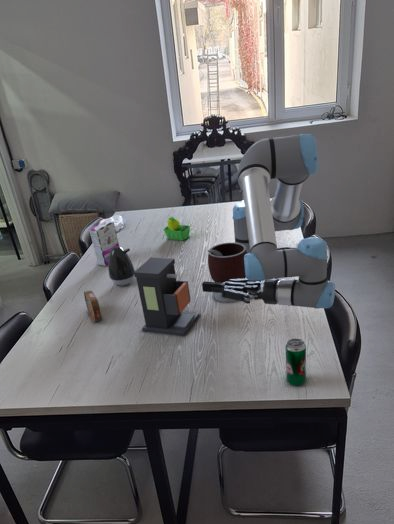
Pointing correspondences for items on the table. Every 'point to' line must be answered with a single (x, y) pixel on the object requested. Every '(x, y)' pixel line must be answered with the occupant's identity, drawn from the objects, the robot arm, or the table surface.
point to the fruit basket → (176, 230)
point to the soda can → (295, 362)
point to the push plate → (182, 297)
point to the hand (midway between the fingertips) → (203, 286)
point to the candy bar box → (104, 241)
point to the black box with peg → (162, 298)
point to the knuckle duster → (115, 222)
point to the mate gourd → (226, 264)
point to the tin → (92, 305)
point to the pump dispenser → (120, 266)
